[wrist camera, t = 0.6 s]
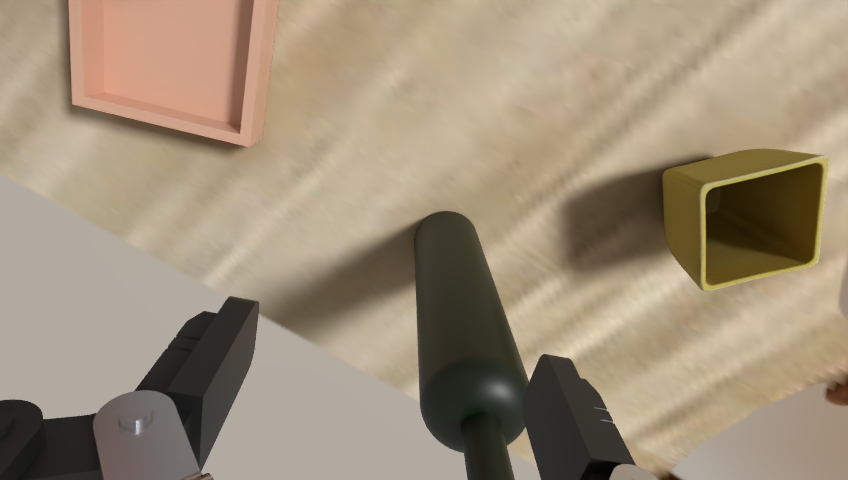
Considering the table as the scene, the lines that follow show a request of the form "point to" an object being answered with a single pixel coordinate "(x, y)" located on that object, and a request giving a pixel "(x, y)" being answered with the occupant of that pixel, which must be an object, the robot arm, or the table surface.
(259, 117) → the tray
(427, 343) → the wine bottle
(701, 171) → the flower pot
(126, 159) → the table surface
